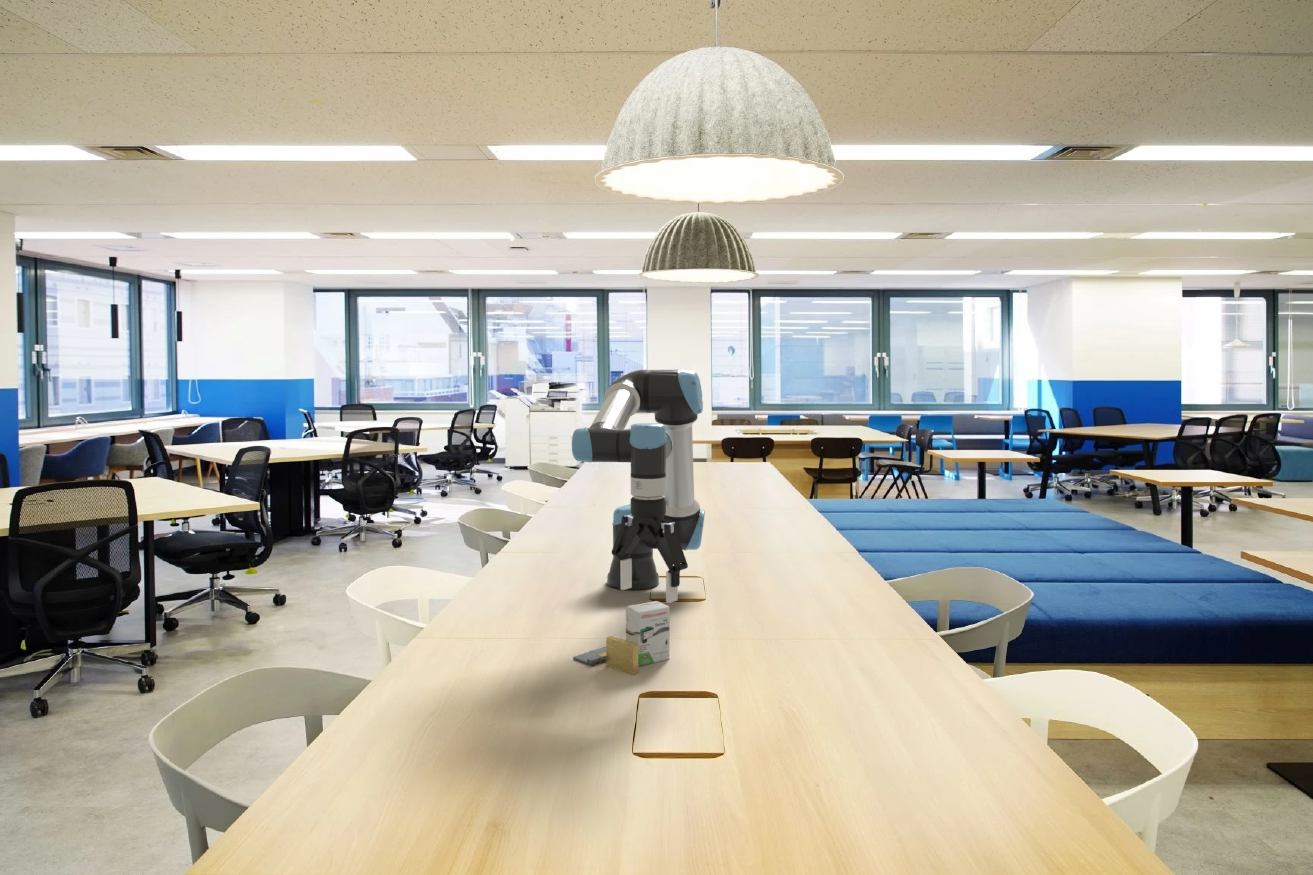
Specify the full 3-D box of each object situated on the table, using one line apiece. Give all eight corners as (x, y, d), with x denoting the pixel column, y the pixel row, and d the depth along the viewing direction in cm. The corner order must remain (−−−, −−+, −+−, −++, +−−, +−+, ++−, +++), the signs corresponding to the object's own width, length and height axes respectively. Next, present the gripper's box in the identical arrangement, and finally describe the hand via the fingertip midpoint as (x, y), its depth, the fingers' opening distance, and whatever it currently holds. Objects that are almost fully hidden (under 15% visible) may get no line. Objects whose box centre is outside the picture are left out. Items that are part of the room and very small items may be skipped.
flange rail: (573, 659, 172) (572, 631, 172) (626, 641, 184) (626, 615, 183) (624, 678, 162) (624, 649, 161) (677, 658, 173) (677, 631, 173)
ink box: (637, 667, 168) (637, 612, 167) (624, 660, 172) (624, 606, 171) (670, 659, 173) (671, 605, 172) (657, 652, 177) (657, 599, 176)
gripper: (595, 492, 175) (596, 587, 177) (680, 506, 158) (680, 611, 160) (620, 488, 181) (620, 580, 183) (704, 501, 164) (704, 603, 166)
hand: (648, 594), depth 172 cm, fingers open, 13 cm apart
